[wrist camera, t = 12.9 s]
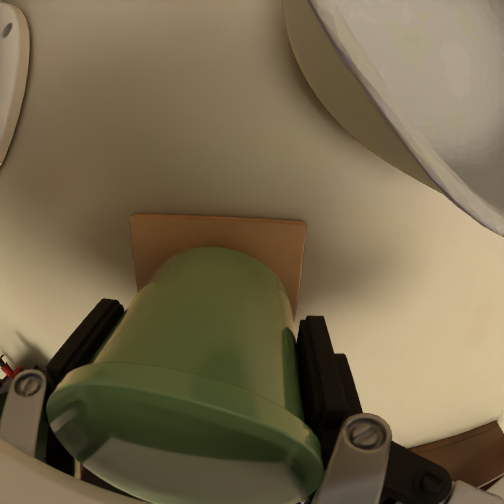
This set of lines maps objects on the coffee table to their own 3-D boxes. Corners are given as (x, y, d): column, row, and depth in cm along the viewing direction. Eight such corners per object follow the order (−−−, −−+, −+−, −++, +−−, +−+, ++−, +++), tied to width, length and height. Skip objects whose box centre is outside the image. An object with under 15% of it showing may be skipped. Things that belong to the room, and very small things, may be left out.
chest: (496, 420, 18) (519, 463, 12) (437, 481, 24) (448, 517, 17) (386, 453, 18) (402, 516, 12) (340, 504, 24) (346, 548, 18)
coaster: (134, 213, 12) (128, 217, 11) (304, 220, 12) (307, 225, 11) (151, 345, 14) (148, 352, 14) (287, 356, 14) (288, 364, 14)
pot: (125, 239, 10) (1, 352, 4) (304, 237, 10) (357, 394, 4) (155, 369, 13) (105, 492, 6) (294, 376, 13) (304, 517, 6)
